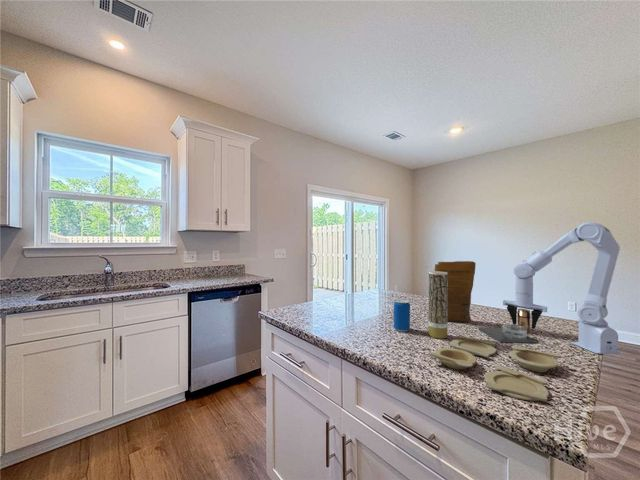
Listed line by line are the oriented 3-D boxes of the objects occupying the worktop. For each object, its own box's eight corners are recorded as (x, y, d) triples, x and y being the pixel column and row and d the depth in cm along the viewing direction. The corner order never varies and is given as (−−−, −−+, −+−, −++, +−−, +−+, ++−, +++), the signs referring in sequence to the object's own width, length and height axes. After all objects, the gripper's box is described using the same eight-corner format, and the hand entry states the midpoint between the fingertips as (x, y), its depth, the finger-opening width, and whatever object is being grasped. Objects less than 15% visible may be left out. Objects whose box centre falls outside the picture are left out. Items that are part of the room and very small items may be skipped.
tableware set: (460, 338, 103) (461, 327, 103) (562, 364, 82) (562, 351, 82) (417, 367, 79) (417, 353, 79) (545, 415, 58) (546, 396, 58)
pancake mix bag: (478, 324, 120) (479, 261, 120) (434, 322, 122) (435, 261, 122) (471, 319, 127) (472, 260, 127) (430, 318, 128) (430, 260, 128)
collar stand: (536, 342, 98) (536, 332, 98) (500, 342, 98) (500, 331, 98) (509, 330, 112) (509, 320, 112) (478, 329, 112) (478, 320, 112)
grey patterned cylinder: (449, 340, 100) (449, 273, 100) (430, 338, 102) (430, 273, 102) (444, 333, 107) (445, 271, 107) (426, 332, 108) (427, 271, 108)
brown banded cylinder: (532, 333, 108) (533, 311, 108) (522, 333, 108) (522, 311, 108) (525, 330, 112) (525, 308, 112) (515, 330, 112) (515, 308, 112)
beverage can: (407, 327, 114) (408, 299, 114) (411, 332, 108) (411, 303, 108) (392, 326, 115) (392, 299, 115) (395, 332, 109) (395, 302, 109)
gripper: (549, 294, 107) (549, 328, 107) (507, 289, 118) (506, 319, 118) (544, 297, 102) (544, 332, 102) (501, 291, 114) (500, 322, 114)
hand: (523, 325), depth 110 cm, fingers open, 6 cm apart
